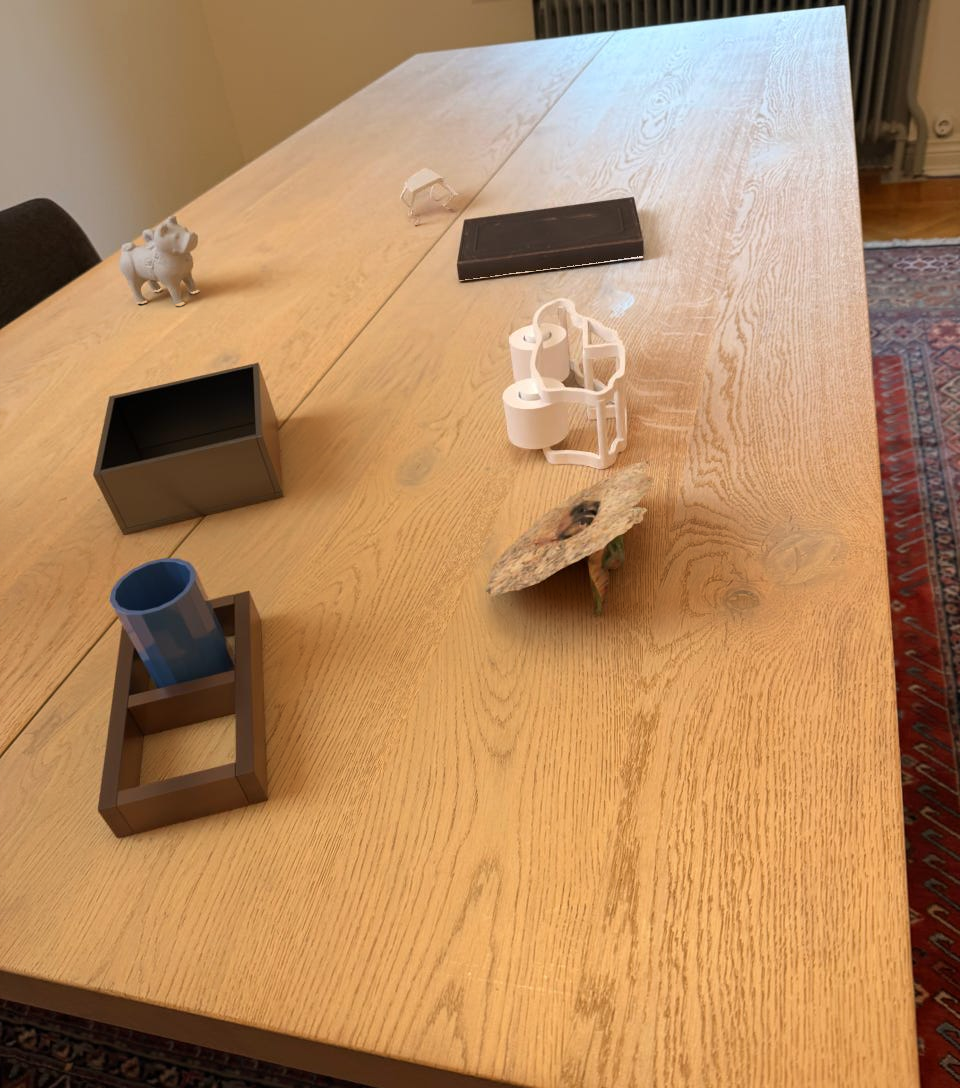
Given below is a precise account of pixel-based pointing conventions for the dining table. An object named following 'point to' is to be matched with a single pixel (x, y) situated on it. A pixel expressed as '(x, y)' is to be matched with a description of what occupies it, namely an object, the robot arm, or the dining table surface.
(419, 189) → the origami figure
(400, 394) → the dining table surface
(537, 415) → the toilet paper holder
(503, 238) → the hardcover book
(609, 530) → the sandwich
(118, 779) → the rack
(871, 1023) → the dining table surface
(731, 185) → the dining table surface
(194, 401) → the open box
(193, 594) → the cup
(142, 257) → the dog figurine
